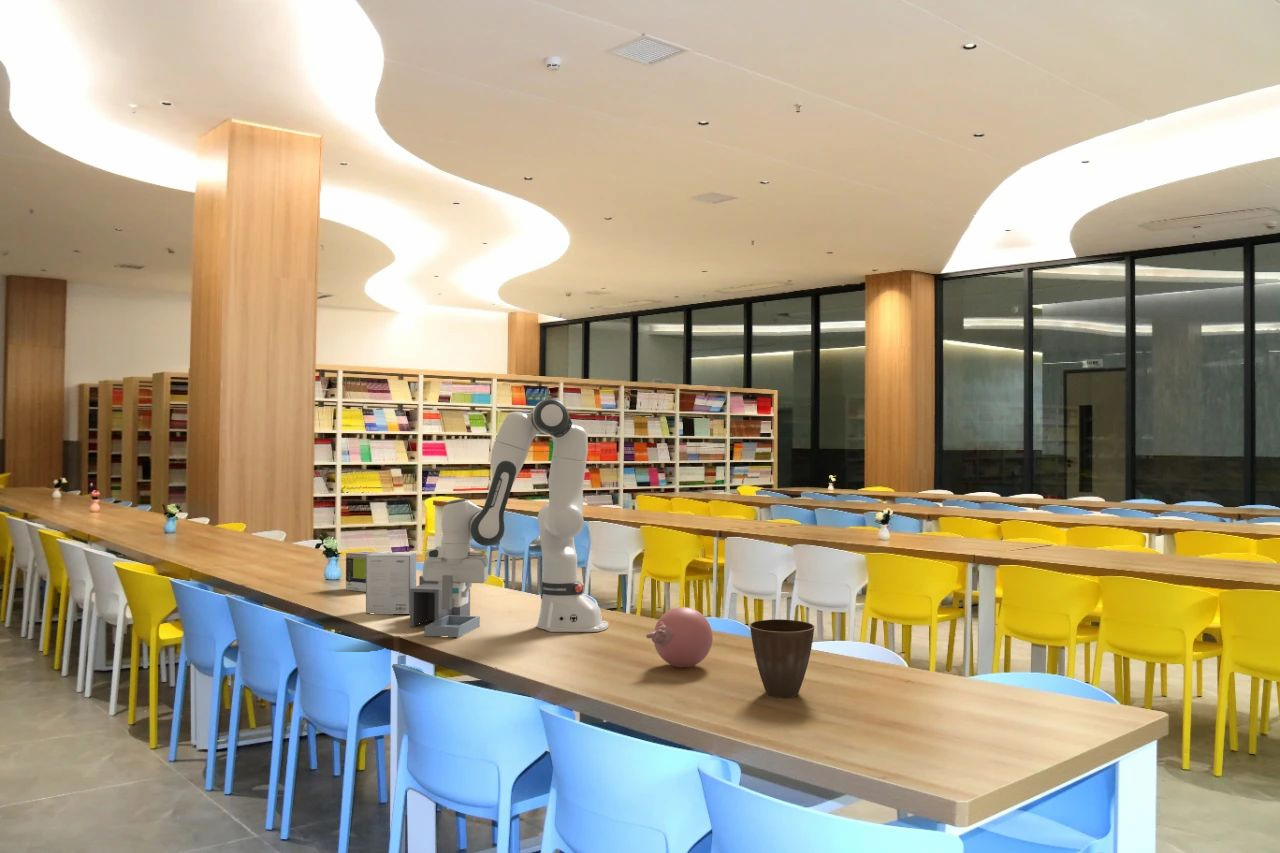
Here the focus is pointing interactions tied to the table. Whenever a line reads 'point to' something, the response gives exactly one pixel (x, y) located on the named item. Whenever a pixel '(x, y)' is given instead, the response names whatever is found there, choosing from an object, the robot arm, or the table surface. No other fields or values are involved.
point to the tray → (452, 626)
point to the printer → (431, 603)
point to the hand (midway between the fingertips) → (454, 596)
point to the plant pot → (782, 654)
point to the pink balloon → (682, 637)
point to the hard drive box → (389, 582)
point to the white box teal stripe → (452, 593)
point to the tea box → (357, 570)
